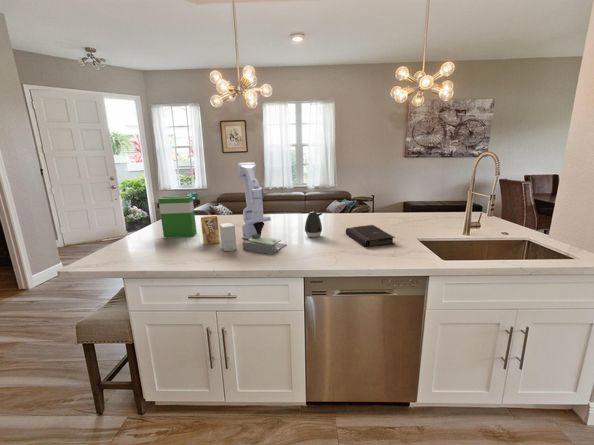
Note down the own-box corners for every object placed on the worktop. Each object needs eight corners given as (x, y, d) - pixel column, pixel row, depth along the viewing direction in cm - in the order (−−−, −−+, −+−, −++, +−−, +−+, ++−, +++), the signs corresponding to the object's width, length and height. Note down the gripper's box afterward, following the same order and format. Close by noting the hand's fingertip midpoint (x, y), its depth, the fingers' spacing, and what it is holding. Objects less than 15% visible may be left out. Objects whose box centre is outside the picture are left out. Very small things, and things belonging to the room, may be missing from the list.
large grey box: (242, 249, 153) (242, 242, 152) (259, 241, 166) (258, 234, 165) (272, 254, 145) (271, 246, 144) (286, 245, 158) (286, 238, 157)
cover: (248, 240, 153) (248, 236, 152) (258, 236, 160) (257, 232, 159) (272, 245, 145) (271, 240, 144) (281, 241, 152) (281, 236, 151)
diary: (364, 249, 151) (364, 240, 150) (345, 235, 175) (345, 227, 174) (396, 245, 155) (396, 236, 154) (373, 232, 179) (374, 224, 178)
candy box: (219, 240, 169) (216, 214, 165) (219, 242, 165) (217, 216, 162) (203, 242, 166) (200, 216, 163) (203, 244, 163) (200, 217, 159)
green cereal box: (163, 237, 177) (158, 198, 171) (168, 234, 184) (163, 196, 178) (193, 236, 178) (188, 197, 172) (196, 233, 185) (192, 195, 179)
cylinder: (247, 241, 153) (251, 241, 156) (246, 247, 153) (250, 247, 156) (263, 243, 149) (267, 243, 151) (262, 249, 148) (266, 250, 151)
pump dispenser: (321, 239, 167) (321, 213, 163) (303, 238, 169) (303, 212, 165) (323, 234, 176) (323, 209, 173) (306, 233, 179) (306, 209, 175)
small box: (236, 249, 153) (234, 225, 150) (224, 251, 151) (222, 227, 147) (233, 245, 160) (231, 222, 157) (221, 247, 158) (219, 223, 154)
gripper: (249, 214, 146) (251, 240, 150) (273, 210, 155) (274, 234, 158) (242, 212, 152) (244, 237, 155) (266, 208, 160) (267, 231, 164)
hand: (259, 235), depth 157 cm, fingers closed
